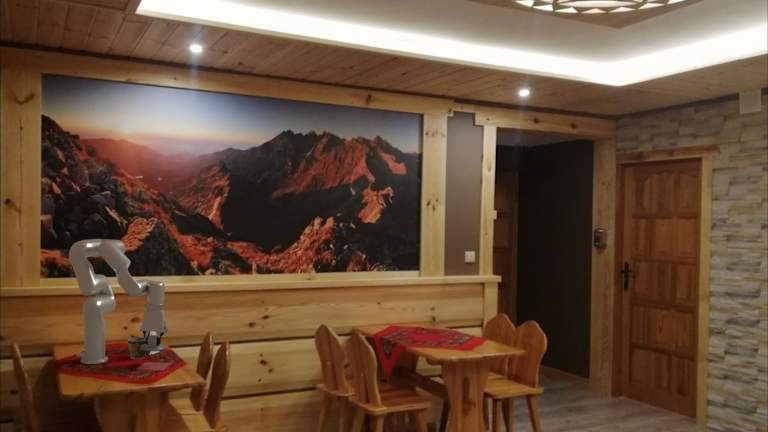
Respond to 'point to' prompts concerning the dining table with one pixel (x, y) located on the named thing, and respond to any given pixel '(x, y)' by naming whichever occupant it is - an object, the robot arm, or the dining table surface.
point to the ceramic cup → (137, 347)
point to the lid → (152, 344)
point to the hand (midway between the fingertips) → (153, 344)
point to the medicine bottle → (151, 351)
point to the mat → (154, 366)
